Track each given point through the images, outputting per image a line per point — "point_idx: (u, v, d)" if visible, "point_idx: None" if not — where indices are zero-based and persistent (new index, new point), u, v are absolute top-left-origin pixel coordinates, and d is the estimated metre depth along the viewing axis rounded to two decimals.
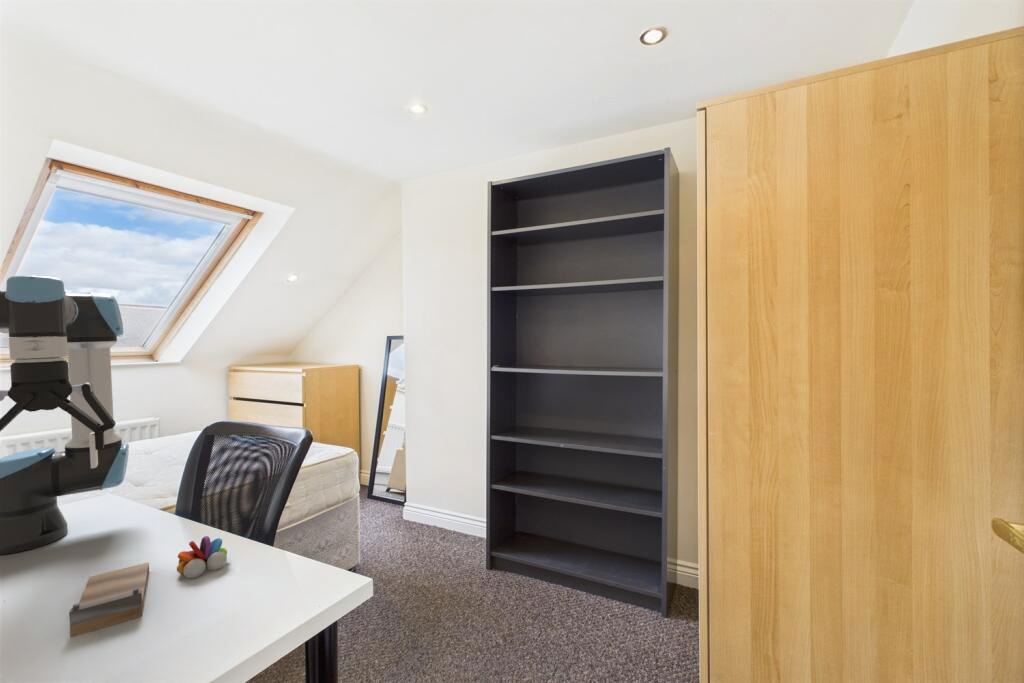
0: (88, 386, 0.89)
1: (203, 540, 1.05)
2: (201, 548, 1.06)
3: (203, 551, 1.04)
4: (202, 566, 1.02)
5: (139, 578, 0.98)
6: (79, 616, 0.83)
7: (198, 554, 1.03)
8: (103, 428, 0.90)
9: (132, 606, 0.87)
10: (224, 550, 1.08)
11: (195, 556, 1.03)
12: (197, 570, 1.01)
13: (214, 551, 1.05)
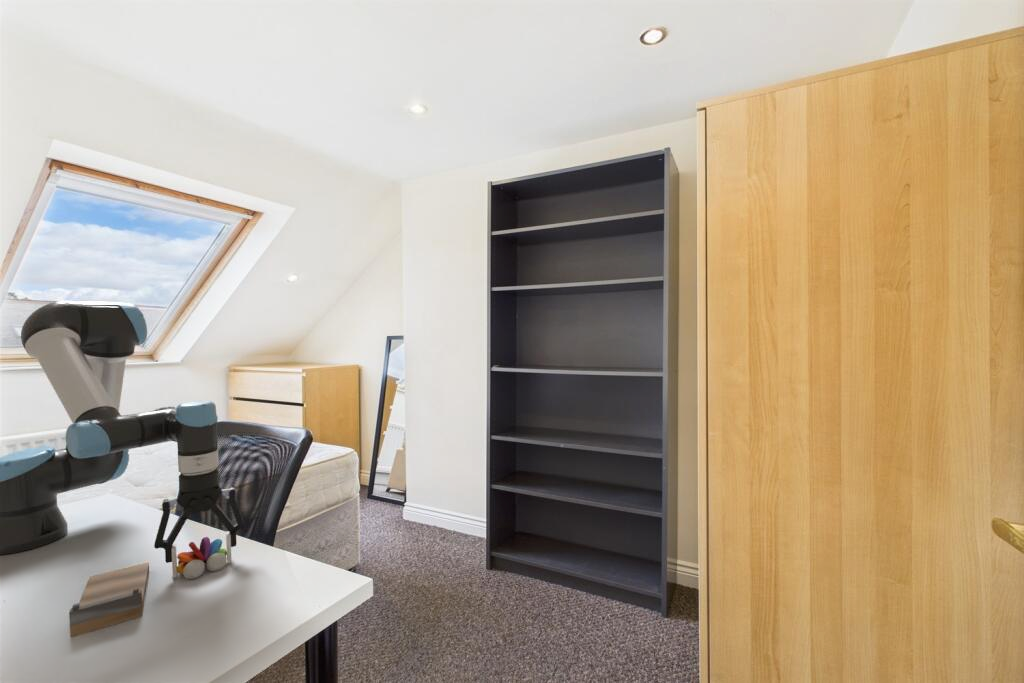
0: (234, 492, 1.07)
1: (203, 541, 1.05)
2: (201, 549, 1.05)
3: (203, 552, 1.04)
4: (202, 567, 1.01)
5: (139, 578, 0.98)
6: (79, 616, 0.83)
7: (198, 555, 1.02)
8: (236, 528, 1.08)
9: (132, 606, 0.87)
10: (224, 551, 1.07)
11: (195, 557, 1.03)
12: (197, 571, 1.00)
13: (214, 552, 1.04)
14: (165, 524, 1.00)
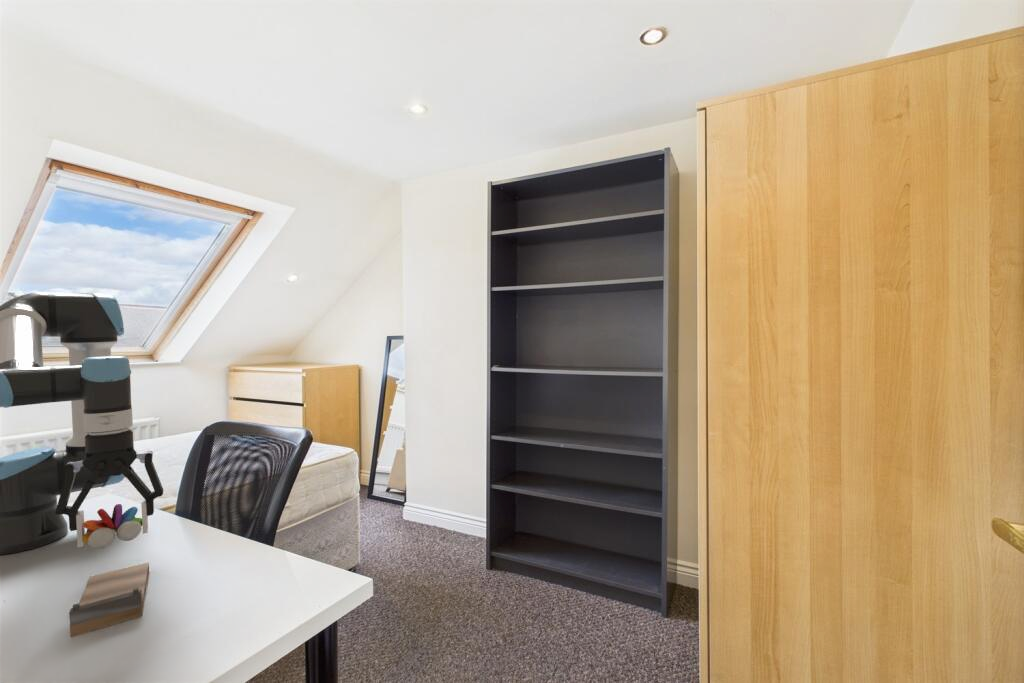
0: (151, 455, 0.98)
1: (114, 508, 0.96)
2: (113, 517, 0.96)
3: (114, 520, 0.95)
4: (110, 536, 0.92)
5: (139, 578, 0.98)
6: (79, 616, 0.83)
7: (106, 523, 0.93)
8: (153, 496, 0.99)
9: (132, 606, 0.87)
10: (140, 520, 0.98)
11: (104, 525, 0.94)
12: (103, 540, 0.92)
13: (126, 520, 0.96)
14: (68, 488, 0.91)
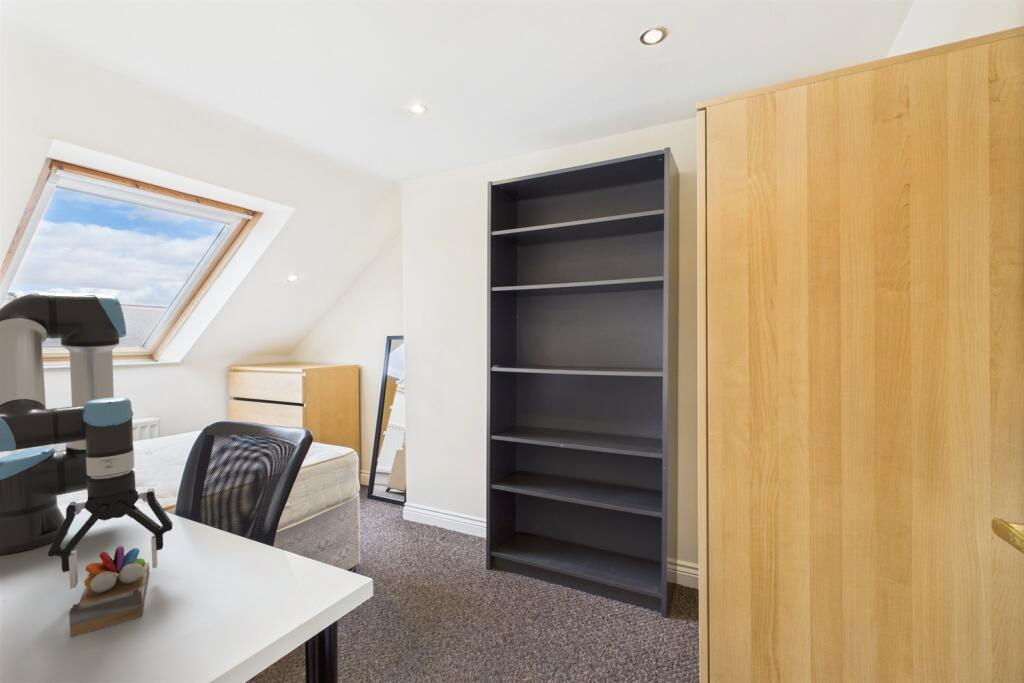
0: (152, 493, 0.99)
1: (116, 550, 0.96)
2: (114, 559, 0.97)
3: (116, 563, 0.95)
4: (112, 579, 0.93)
5: (139, 578, 0.98)
6: (79, 616, 0.83)
7: (108, 566, 0.94)
8: (163, 530, 1.00)
9: (132, 606, 0.87)
10: (141, 561, 0.99)
11: (106, 568, 0.94)
12: (105, 584, 0.92)
13: (128, 563, 0.96)
14: (65, 530, 0.91)
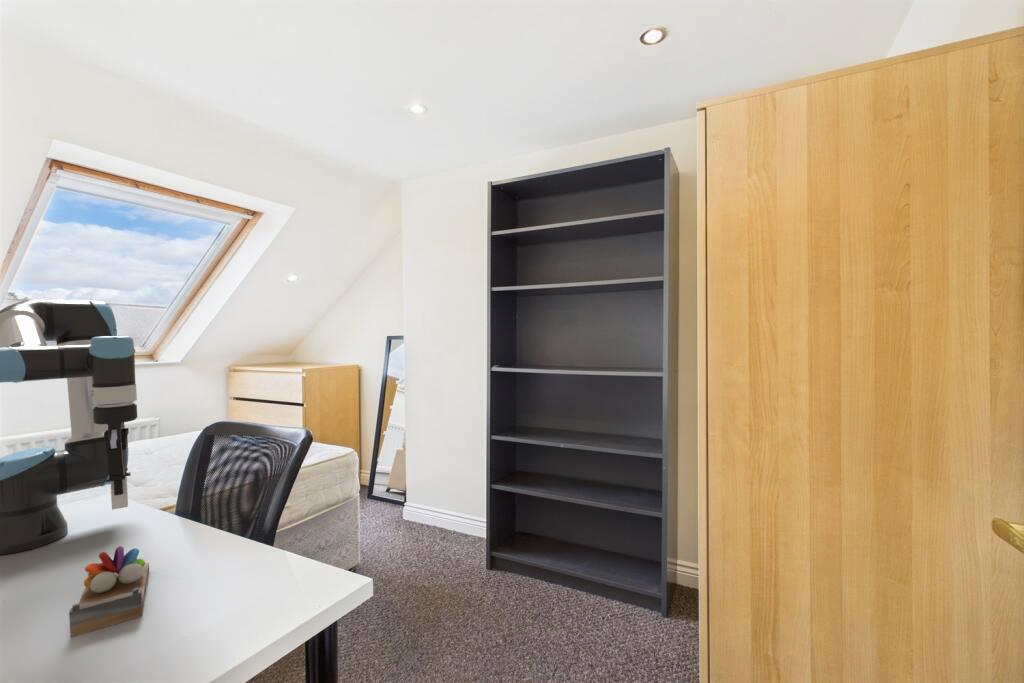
0: (106, 444, 0.99)
1: (116, 551, 0.96)
2: (114, 559, 0.97)
3: (115, 563, 0.95)
4: (112, 580, 0.93)
5: (139, 578, 0.98)
6: (79, 616, 0.83)
7: (108, 566, 0.94)
8: None
9: (132, 606, 0.87)
10: (141, 561, 0.99)
11: (106, 569, 0.94)
12: (105, 584, 0.92)
13: (128, 563, 0.96)
14: None
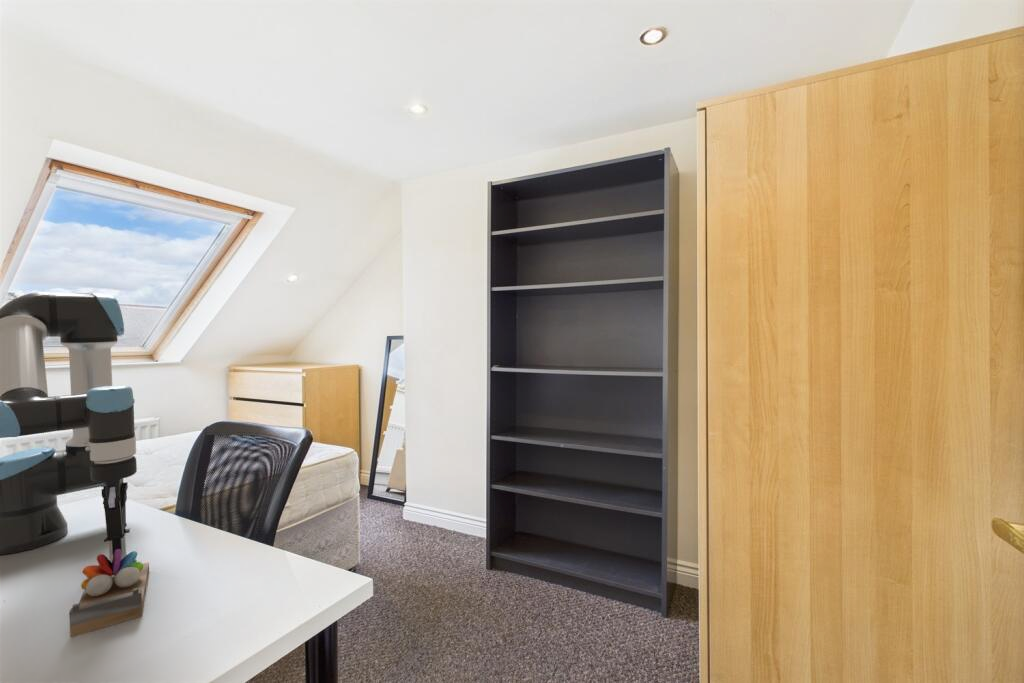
0: (104, 504, 0.93)
1: (114, 553, 0.95)
2: (112, 562, 0.95)
3: (112, 566, 0.94)
4: (107, 583, 0.91)
5: (139, 578, 0.98)
6: (79, 616, 0.83)
7: (104, 569, 0.92)
8: None
9: (132, 606, 0.87)
10: (139, 565, 0.97)
11: (103, 571, 0.93)
12: (100, 588, 0.91)
13: (125, 566, 0.95)
14: None
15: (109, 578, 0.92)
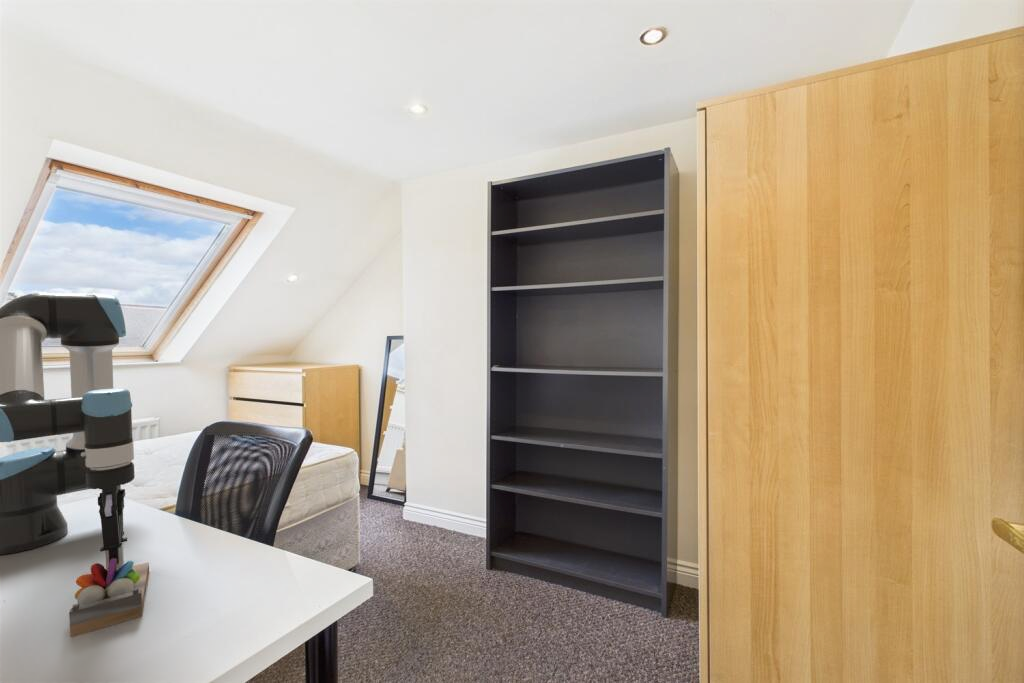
0: (100, 513, 0.89)
1: (109, 563, 0.91)
2: (108, 572, 0.92)
3: (107, 576, 0.90)
4: (98, 595, 0.87)
5: (139, 578, 0.98)
6: (79, 616, 0.83)
7: (97, 580, 0.89)
8: None
9: (132, 606, 0.87)
10: (135, 576, 0.93)
11: (97, 582, 0.90)
12: (91, 600, 0.87)
13: (118, 577, 0.90)
14: None
15: (101, 590, 0.88)
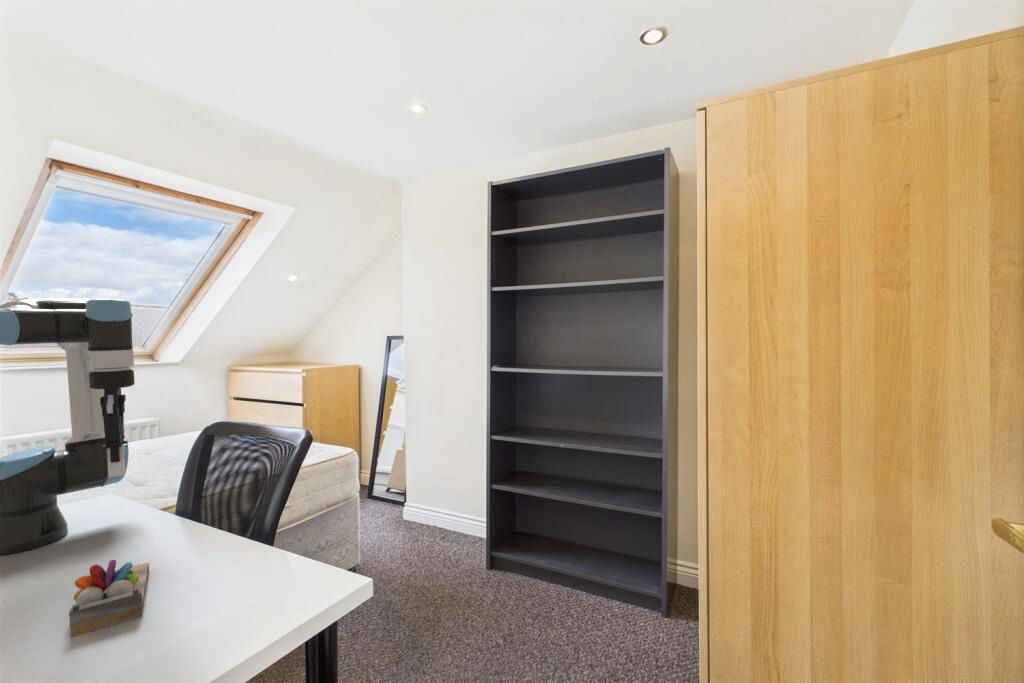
0: (102, 409, 0.96)
1: None
2: None
3: (106, 578, 0.90)
4: (97, 597, 0.87)
5: (139, 578, 0.98)
6: (79, 616, 0.83)
7: (96, 582, 0.88)
8: None
9: (132, 606, 0.87)
10: (134, 577, 0.92)
11: (96, 583, 0.89)
12: (89, 601, 0.86)
13: (117, 579, 0.90)
14: None
15: (100, 591, 0.88)
